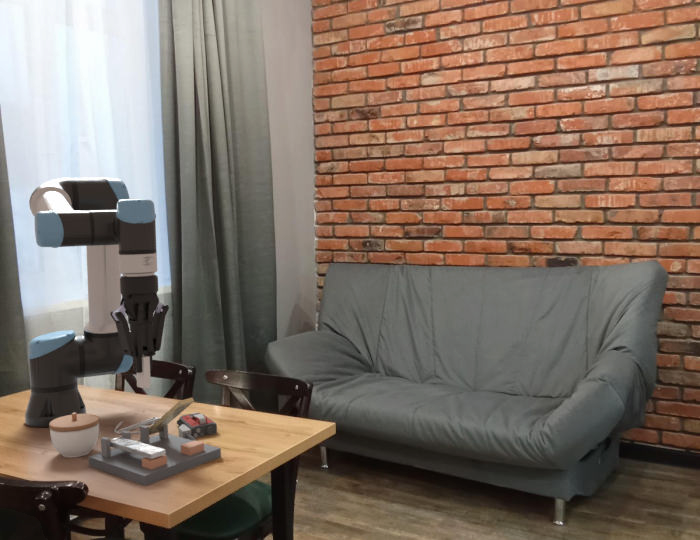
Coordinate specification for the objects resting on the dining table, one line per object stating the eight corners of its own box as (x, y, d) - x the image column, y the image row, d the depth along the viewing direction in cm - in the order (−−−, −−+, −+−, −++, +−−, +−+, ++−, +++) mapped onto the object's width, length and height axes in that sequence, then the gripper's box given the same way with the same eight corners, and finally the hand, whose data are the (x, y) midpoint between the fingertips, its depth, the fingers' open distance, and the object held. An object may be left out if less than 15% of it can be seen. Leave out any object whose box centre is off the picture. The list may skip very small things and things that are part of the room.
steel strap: (106, 446, 150) (106, 439, 150) (120, 442, 153) (120, 435, 153) (151, 460, 141) (151, 452, 141) (165, 455, 143) (165, 448, 143)
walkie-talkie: (169, 428, 177) (192, 450, 159) (168, 411, 176) (192, 431, 159) (202, 422, 181) (228, 442, 164) (201, 405, 181) (228, 424, 163)
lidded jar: (99, 458, 154) (97, 417, 154) (47, 463, 151) (45, 422, 151) (102, 443, 165) (100, 404, 164) (54, 448, 162) (51, 409, 161)
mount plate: (88, 465, 149) (87, 438, 149) (164, 440, 165) (163, 416, 165) (145, 485, 137) (143, 456, 137) (220, 456, 153) (219, 430, 153)
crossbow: (130, 443, 168) (129, 435, 168) (103, 433, 176) (102, 425, 176) (184, 423, 180) (183, 415, 180) (156, 415, 189) (155, 407, 188)
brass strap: (147, 436, 158) (144, 430, 158) (159, 432, 161) (156, 426, 161) (182, 406, 149) (179, 399, 150) (194, 402, 152) (191, 396, 153)
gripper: (122, 277, 134) (127, 396, 136) (176, 272, 145) (180, 382, 146) (100, 276, 139) (105, 391, 141) (153, 271, 149) (158, 378, 151)
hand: (143, 386), depth 144 cm, fingers closed
